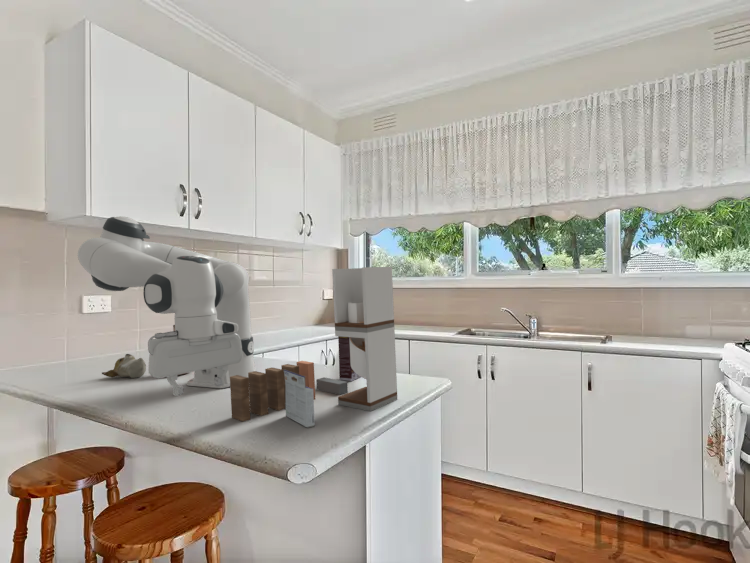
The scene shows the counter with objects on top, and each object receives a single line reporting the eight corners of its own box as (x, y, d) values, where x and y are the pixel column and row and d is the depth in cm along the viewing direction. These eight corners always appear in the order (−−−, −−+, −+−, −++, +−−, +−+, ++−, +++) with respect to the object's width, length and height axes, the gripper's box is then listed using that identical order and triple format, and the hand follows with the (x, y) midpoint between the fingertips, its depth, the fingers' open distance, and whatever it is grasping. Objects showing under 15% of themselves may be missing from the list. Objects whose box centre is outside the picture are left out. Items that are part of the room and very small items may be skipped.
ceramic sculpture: (127, 356, 151) (98, 357, 157) (129, 381, 151) (100, 381, 157) (153, 350, 161) (125, 352, 167) (156, 374, 161) (127, 375, 167)
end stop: (339, 394, 123) (339, 384, 123) (316, 389, 130) (316, 379, 130) (347, 392, 125) (347, 381, 125) (324, 387, 132) (324, 377, 132)
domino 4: (294, 405, 114) (292, 367, 114) (283, 402, 118) (281, 365, 118) (300, 403, 116) (298, 366, 116) (289, 400, 119) (287, 364, 119)
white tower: (366, 393, 123) (360, 268, 122) (397, 399, 116) (391, 266, 115) (338, 404, 114) (332, 269, 113) (370, 411, 107) (364, 267, 106)
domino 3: (278, 410, 111) (276, 371, 111) (267, 407, 114) (265, 368, 114) (285, 408, 112) (283, 369, 112) (273, 405, 116) (271, 367, 115)
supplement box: (352, 381, 137) (349, 331, 137) (339, 380, 140) (336, 330, 139) (365, 375, 145) (363, 327, 145) (353, 374, 147) (351, 327, 147)
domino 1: (242, 421, 103) (240, 379, 103) (231, 417, 107) (229, 376, 107) (250, 419, 105) (248, 377, 105) (239, 415, 108) (237, 375, 108)
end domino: (309, 401, 118) (308, 363, 118) (298, 398, 122) (296, 362, 121) (315, 399, 120) (313, 362, 119) (303, 396, 123) (302, 360, 123)
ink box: (316, 426, 98) (313, 374, 98) (306, 428, 97) (304, 376, 97) (294, 414, 108) (291, 367, 107) (285, 416, 106) (282, 368, 106)
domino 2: (261, 416, 107) (259, 375, 107) (250, 412, 110) (248, 372, 110) (268, 413, 109) (266, 373, 108) (257, 410, 112) (255, 371, 112)
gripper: (153, 335, 89) (156, 403, 89) (244, 324, 104) (247, 382, 104) (141, 333, 93) (144, 398, 93) (230, 322, 108) (233, 379, 108)
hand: (199, 390), depth 99 cm, fingers open, 8 cm apart
